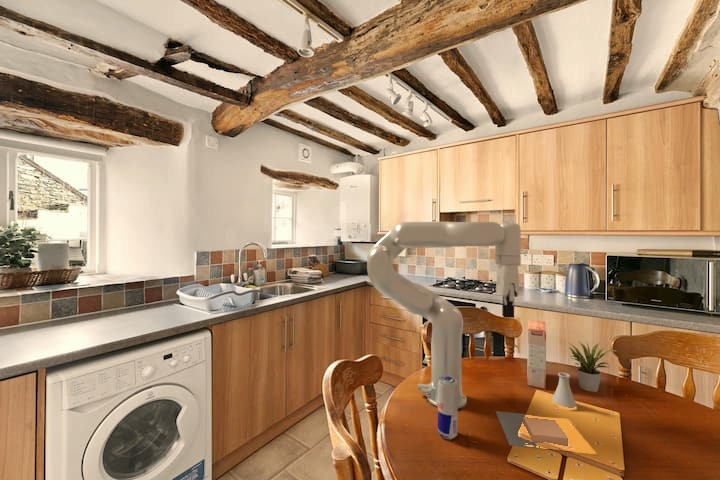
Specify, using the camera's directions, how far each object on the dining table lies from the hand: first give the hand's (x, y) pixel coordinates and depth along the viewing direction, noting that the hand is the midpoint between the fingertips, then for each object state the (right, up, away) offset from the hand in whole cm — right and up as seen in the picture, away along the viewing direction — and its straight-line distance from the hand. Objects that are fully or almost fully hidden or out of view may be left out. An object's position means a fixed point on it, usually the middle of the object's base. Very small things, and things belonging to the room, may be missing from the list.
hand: (508, 316), depth 102 cm
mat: (+1, -27, -17) cm, 32 cm away
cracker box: (+17, -27, +14) cm, 35 cm away
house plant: (+33, -27, +7) cm, 44 cm away
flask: (+16, -27, -4) cm, 32 cm away
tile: (+1, -25, -16) cm, 30 cm away
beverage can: (-25, -27, -18) cm, 41 cm away
